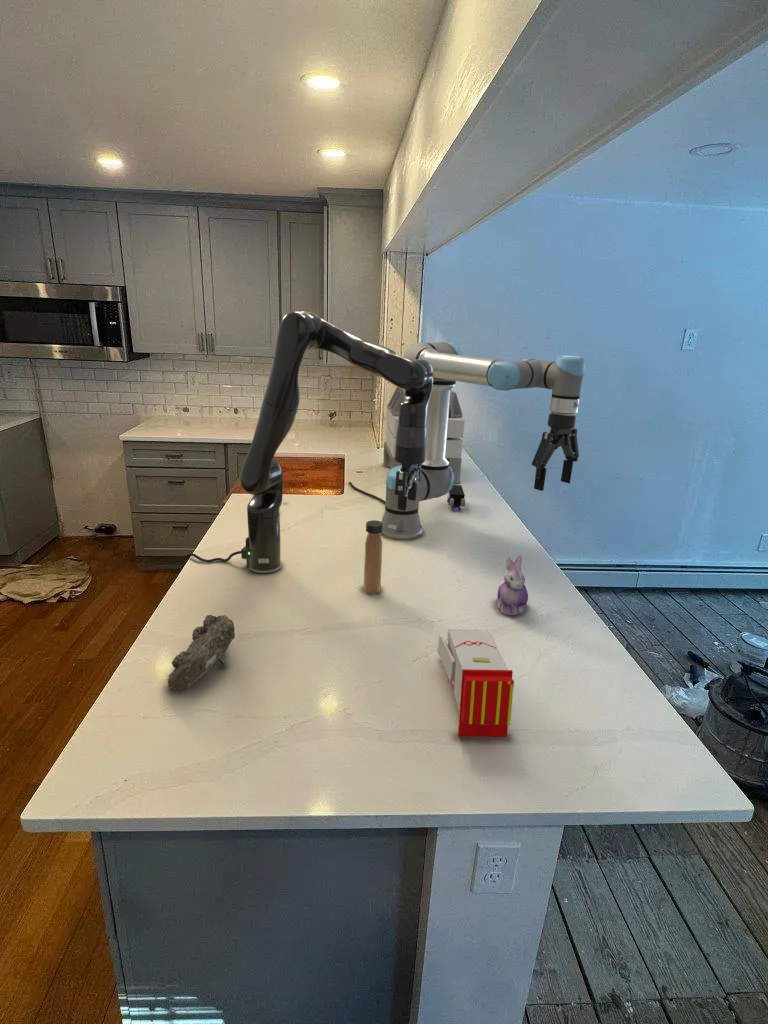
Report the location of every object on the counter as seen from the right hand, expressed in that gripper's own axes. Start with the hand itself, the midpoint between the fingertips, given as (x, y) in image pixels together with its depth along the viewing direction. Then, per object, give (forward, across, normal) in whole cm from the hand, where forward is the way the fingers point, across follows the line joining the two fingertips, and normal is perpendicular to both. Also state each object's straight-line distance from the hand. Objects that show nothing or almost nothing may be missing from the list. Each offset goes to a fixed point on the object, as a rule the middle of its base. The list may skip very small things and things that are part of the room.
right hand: (552, 485), depth 166 cm
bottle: (+28, -49, +22) cm, 61 cm away
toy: (+28, -62, -26) cm, 72 cm away
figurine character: (+28, +24, +57) cm, 68 cm away
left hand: (0, -46, +12) cm, 48 cm away
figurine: (+28, -25, -9) cm, 39 cm away
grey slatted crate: (+28, +46, +101) cm, 115 cm away
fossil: (+28, -100, +16) cm, 105 cm away
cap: (+8, -49, +22) cm, 54 cm away
